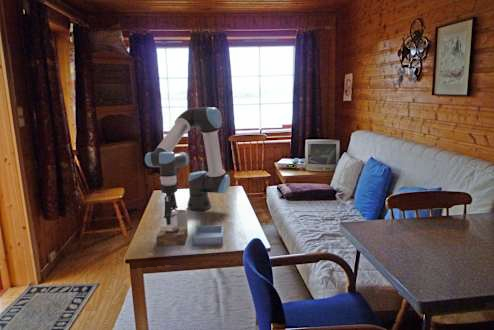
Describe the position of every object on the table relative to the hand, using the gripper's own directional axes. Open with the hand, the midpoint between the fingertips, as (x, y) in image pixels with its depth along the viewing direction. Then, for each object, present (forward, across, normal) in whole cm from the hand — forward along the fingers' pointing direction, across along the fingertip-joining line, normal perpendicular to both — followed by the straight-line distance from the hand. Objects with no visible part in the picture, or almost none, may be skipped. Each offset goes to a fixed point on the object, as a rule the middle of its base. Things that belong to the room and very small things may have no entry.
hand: (172, 225), depth 179 cm
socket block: (+8, 0, 0) cm, 8 cm away
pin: (+8, 0, 0) cm, 8 cm away
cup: (+8, -18, 0) cm, 20 cm away
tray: (+8, 0, +18) cm, 20 cm away
